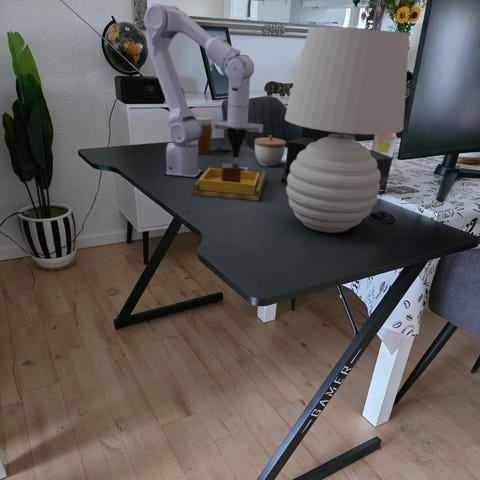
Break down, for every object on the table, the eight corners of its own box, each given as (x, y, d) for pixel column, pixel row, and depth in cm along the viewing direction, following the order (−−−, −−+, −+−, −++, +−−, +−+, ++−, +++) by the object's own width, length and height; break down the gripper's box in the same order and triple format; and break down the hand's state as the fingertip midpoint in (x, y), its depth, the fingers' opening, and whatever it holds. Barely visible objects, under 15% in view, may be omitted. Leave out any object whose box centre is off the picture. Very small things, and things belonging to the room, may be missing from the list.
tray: (199, 189, 123) (199, 179, 122) (211, 173, 138) (212, 163, 137) (254, 195, 122) (254, 184, 120) (260, 177, 137) (261, 168, 135)
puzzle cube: (371, 156, 177) (376, 134, 173) (371, 152, 184) (375, 131, 180) (392, 158, 176) (397, 137, 172) (391, 154, 183) (395, 133, 178)
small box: (347, 184, 140) (353, 149, 135) (364, 183, 143) (371, 149, 137) (368, 195, 132) (375, 158, 127) (385, 193, 135) (394, 157, 129)
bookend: (312, 188, 135) (324, 102, 122) (280, 181, 139) (289, 97, 127) (339, 173, 152) (352, 96, 139) (309, 167, 157) (320, 92, 144)
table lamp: (322, 201, 124) (350, 30, 103) (400, 231, 108) (451, 36, 87) (253, 217, 111) (267, 24, 89) (329, 254, 94) (370, 28, 73)
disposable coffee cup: (191, 148, 170) (190, 114, 164) (215, 150, 170) (216, 116, 163) (185, 154, 163) (184, 118, 156) (210, 156, 162) (211, 120, 155)
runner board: (193, 194, 123) (193, 184, 122) (209, 174, 141) (209, 165, 140) (258, 201, 122) (259, 190, 120) (265, 179, 140) (266, 170, 138)
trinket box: (281, 169, 152) (284, 140, 147) (250, 166, 153) (252, 136, 148) (285, 162, 161) (288, 134, 156) (256, 159, 162) (258, 131, 157)
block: (222, 186, 125) (223, 167, 122) (220, 181, 129) (221, 163, 127) (240, 186, 126) (241, 168, 123) (238, 181, 130) (238, 163, 127)
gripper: (209, 105, 121) (208, 157, 129) (262, 109, 120) (258, 162, 127) (214, 102, 127) (213, 152, 135) (265, 106, 126) (261, 156, 133)
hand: (235, 156), depth 131 cm, fingers closed
